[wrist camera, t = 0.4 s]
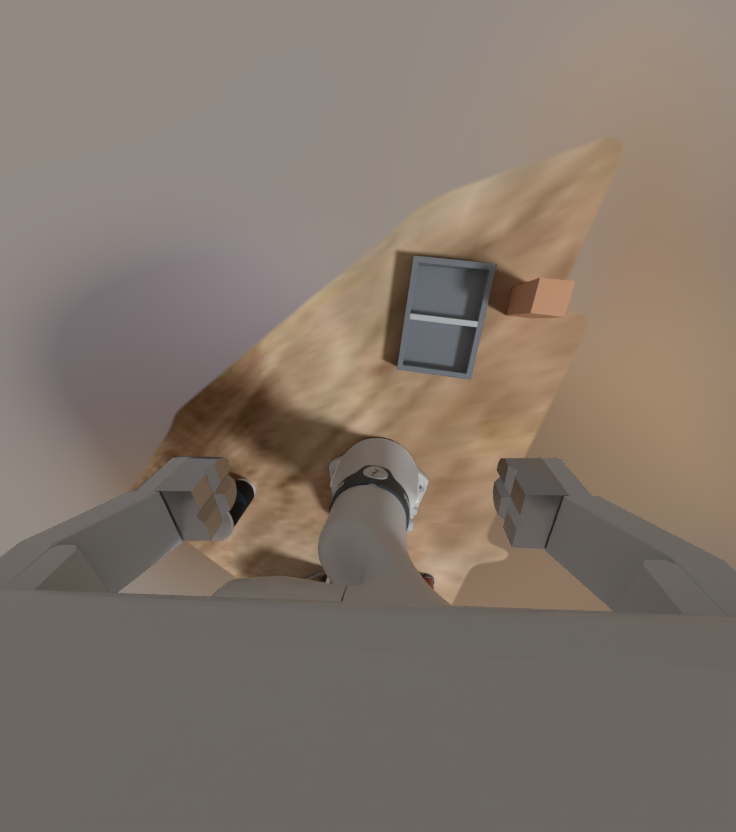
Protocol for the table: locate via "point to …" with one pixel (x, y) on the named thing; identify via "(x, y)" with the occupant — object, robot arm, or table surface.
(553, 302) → the block
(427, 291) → the organiser
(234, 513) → the dixie cup
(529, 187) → the table surface
